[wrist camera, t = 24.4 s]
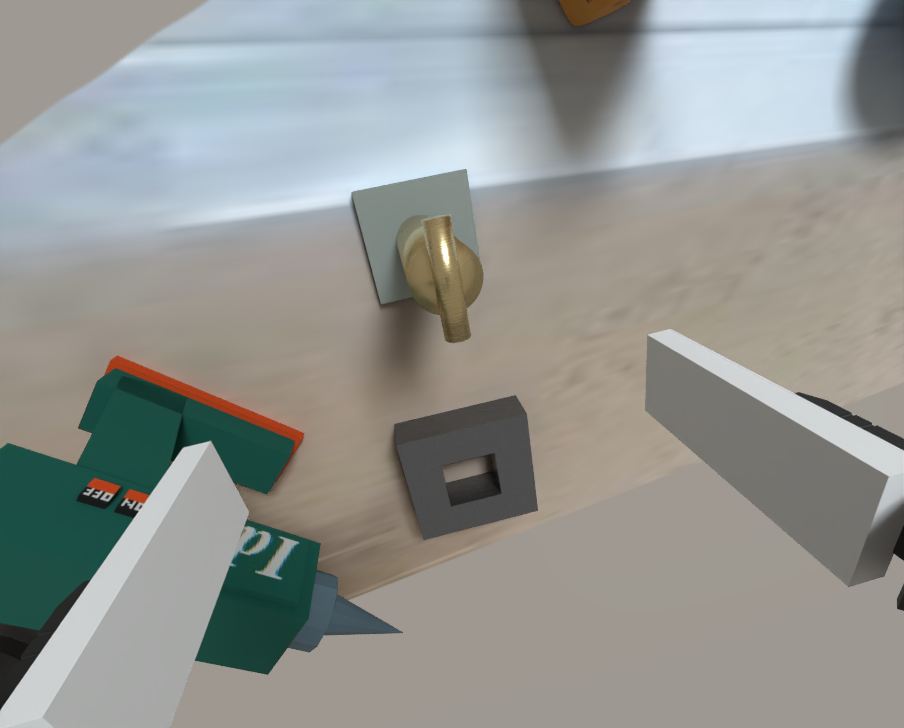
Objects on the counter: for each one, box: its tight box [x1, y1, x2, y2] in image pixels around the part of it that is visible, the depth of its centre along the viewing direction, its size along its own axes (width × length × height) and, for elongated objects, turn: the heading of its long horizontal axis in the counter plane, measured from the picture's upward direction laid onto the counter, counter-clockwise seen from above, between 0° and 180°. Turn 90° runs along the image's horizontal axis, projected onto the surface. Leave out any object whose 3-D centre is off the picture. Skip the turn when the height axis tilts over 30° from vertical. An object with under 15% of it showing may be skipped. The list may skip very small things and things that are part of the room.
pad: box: [351, 169, 480, 304], centre depth 38 cm, size 10×10×1 cm
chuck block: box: [395, 395, 538, 540], centre depth 48 cm, size 14×14×4 cm
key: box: [396, 214, 483, 343], centre depth 30 cm, size 4×7×16 cm, turn 10°
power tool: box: [0, 356, 403, 674], centre depth 36 cm, size 32×7×20 cm, turn 56°
